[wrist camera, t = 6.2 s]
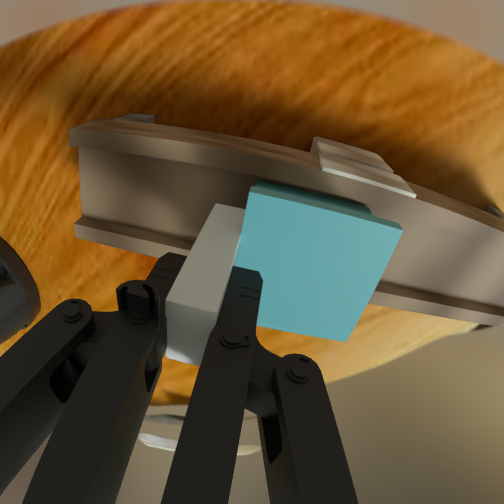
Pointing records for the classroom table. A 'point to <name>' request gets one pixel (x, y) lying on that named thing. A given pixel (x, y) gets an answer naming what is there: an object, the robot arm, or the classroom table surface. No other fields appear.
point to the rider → (313, 258)
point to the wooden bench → (295, 176)
